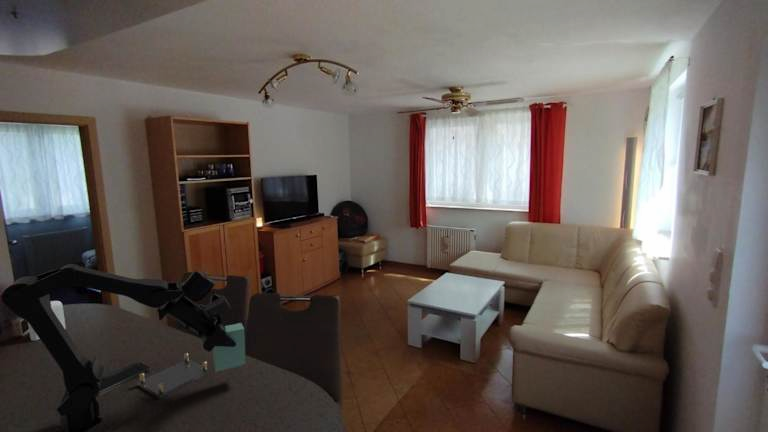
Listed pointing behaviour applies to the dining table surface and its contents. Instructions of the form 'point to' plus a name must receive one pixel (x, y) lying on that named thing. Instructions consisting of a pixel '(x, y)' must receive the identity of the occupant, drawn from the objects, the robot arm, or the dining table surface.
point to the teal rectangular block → (230, 349)
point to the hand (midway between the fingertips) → (233, 341)
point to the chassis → (173, 377)
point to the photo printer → (58, 311)
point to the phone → (122, 377)
